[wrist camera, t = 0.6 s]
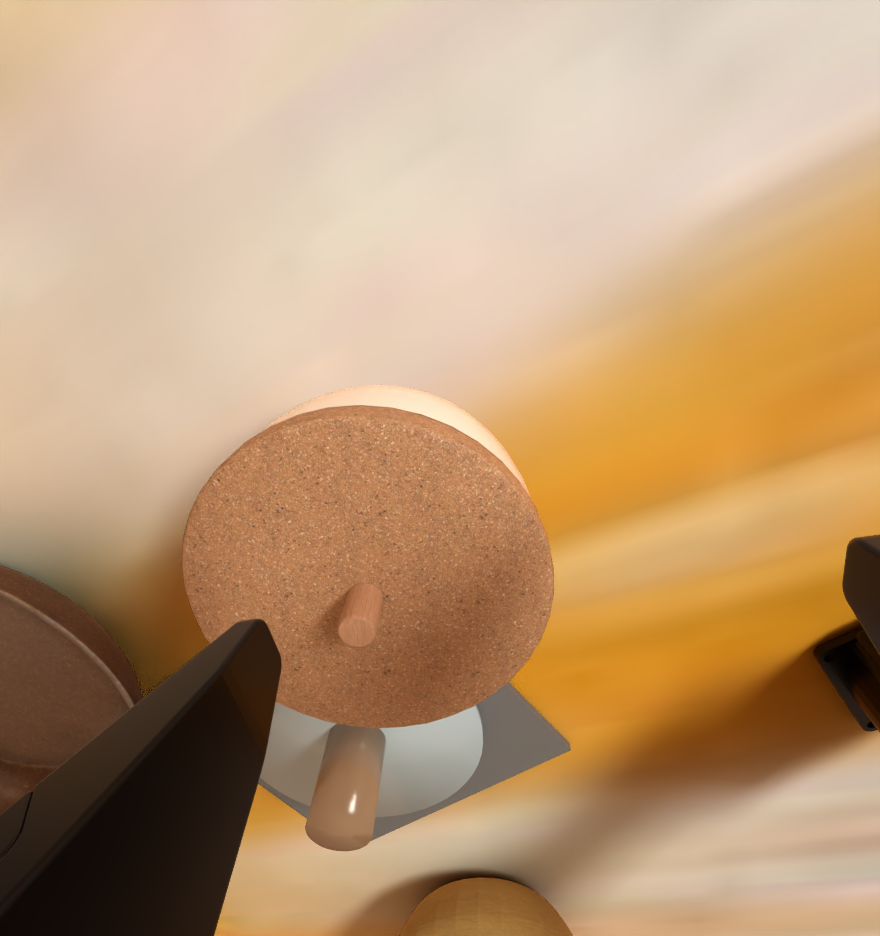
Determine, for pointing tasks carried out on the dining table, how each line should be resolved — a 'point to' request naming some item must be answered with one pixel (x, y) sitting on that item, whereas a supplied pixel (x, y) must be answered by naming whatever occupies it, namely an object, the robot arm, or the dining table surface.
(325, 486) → the lidded jar
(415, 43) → the dining table surface
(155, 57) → the dining table surface
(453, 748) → the lid
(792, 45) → the dining table surface
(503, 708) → the mat
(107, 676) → the plant saucer
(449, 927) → the pot
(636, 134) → the dining table surface
